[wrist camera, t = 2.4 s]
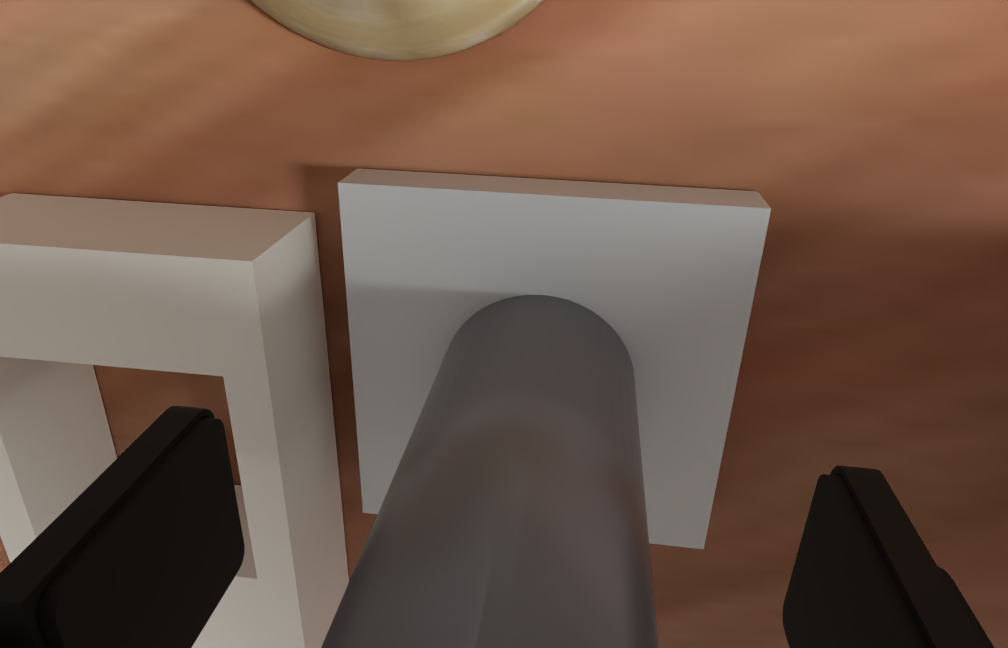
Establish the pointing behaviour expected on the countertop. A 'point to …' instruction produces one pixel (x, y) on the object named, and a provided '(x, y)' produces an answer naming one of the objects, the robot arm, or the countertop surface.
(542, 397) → the plug
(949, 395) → the countertop surface
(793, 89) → the countertop surface
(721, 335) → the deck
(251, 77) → the countertop surface
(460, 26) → the hand bell
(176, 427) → the robot arm
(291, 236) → the socket strip
